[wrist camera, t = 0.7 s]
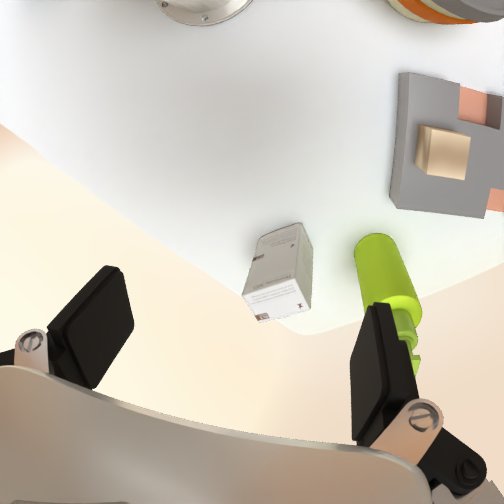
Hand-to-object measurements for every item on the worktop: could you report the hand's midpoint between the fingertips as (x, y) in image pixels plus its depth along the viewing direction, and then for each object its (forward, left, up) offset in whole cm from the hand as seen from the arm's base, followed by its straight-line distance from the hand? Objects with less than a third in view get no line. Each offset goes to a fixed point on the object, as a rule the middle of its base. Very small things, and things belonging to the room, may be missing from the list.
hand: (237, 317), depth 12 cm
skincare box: (+12, 0, -28) cm, 31 cm away
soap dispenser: (+13, +12, -28) cm, 33 cm away
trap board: (-3, +24, -28) cm, 37 cm away
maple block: (-3, +16, -24) cm, 29 cm away
